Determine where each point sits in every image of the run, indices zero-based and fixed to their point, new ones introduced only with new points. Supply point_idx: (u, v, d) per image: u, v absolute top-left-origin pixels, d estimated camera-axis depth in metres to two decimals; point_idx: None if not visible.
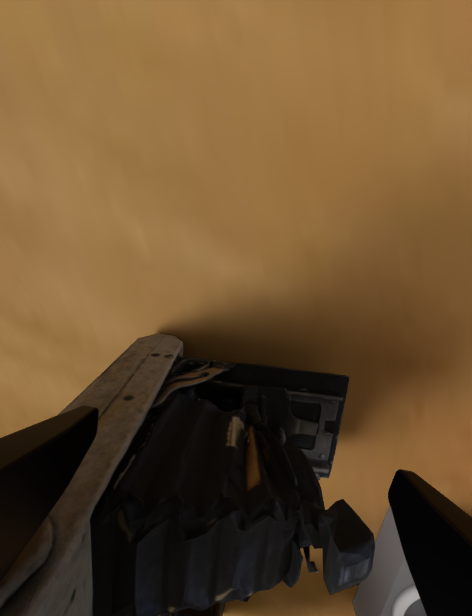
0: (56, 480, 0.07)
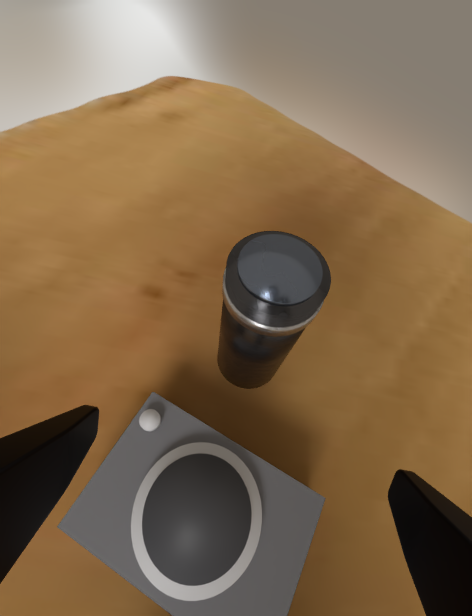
0: (56, 480, 0.07)
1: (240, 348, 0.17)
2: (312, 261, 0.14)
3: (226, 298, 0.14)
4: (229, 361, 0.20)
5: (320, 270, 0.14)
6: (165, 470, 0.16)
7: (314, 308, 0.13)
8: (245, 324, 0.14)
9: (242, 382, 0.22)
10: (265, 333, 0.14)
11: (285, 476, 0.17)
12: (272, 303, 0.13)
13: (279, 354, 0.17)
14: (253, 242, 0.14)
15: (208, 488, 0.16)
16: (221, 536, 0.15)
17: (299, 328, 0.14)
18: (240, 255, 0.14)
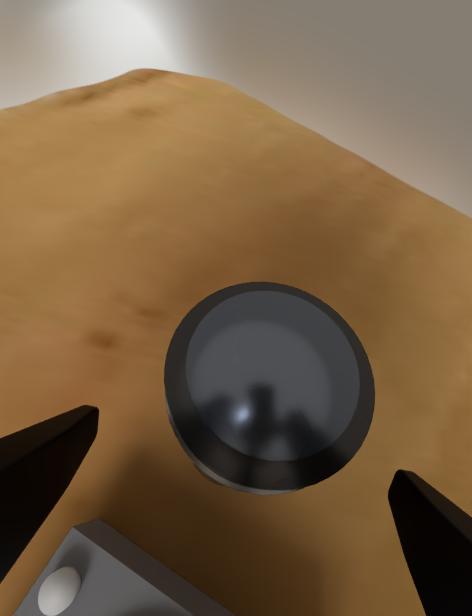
0: (56, 480, 0.07)
1: None
2: (337, 348, 0.07)
3: (170, 419, 0.07)
4: (197, 467, 0.13)
5: (354, 369, 0.07)
6: None
7: (347, 460, 0.06)
8: None
9: None
10: None
11: None
12: (257, 459, 0.06)
13: None
14: (221, 310, 0.07)
15: None
16: None
17: None
18: (193, 341, 0.07)
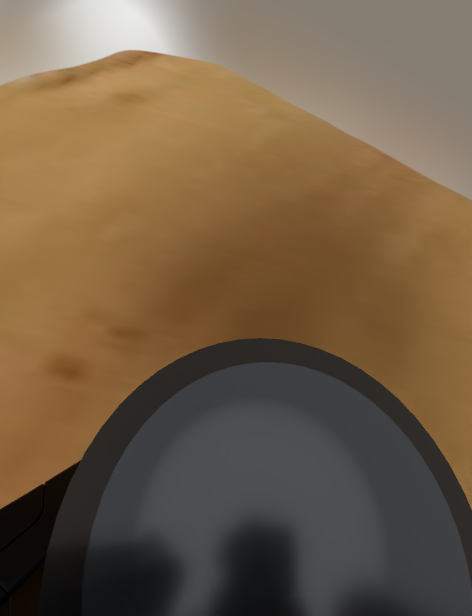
0: None
1: None
2: (413, 496, 0.03)
3: None
4: None
5: (456, 551, 0.03)
6: None
7: None
8: None
9: None
10: None
11: None
12: None
13: None
14: (177, 410, 0.04)
15: None
16: None
17: None
18: (110, 493, 0.03)
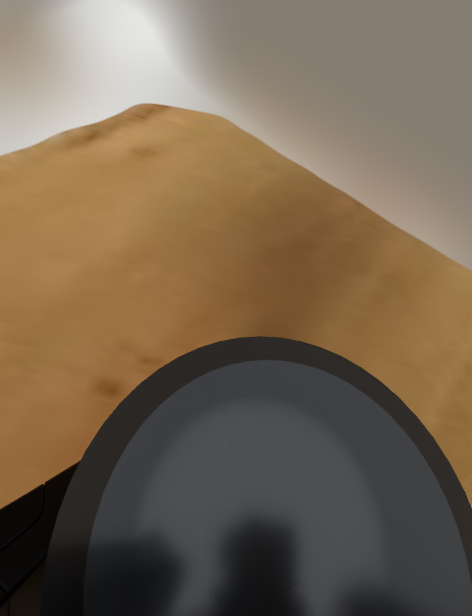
0: None
1: None
2: (413, 493, 0.03)
3: None
4: None
5: (455, 547, 0.03)
6: None
7: None
8: None
9: None
10: None
11: None
12: None
13: None
14: (177, 407, 0.04)
15: None
16: None
17: None
18: (112, 489, 0.03)
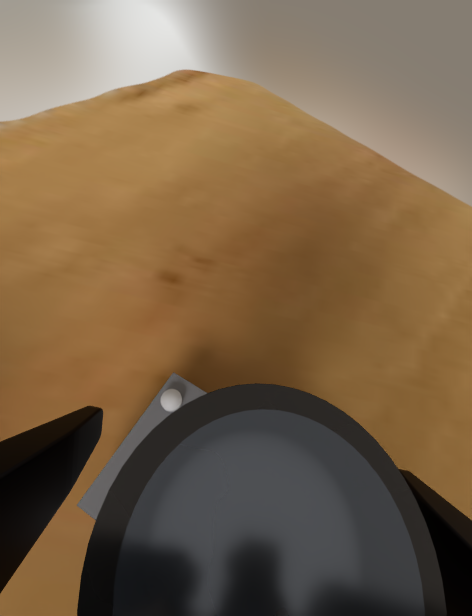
0: (61, 481, 0.07)
1: None
2: (381, 529, 0.04)
3: None
4: None
5: (413, 574, 0.04)
6: None
7: None
8: None
9: None
10: None
11: None
12: None
13: None
14: (185, 455, 0.04)
15: None
16: None
17: None
18: (132, 527, 0.04)
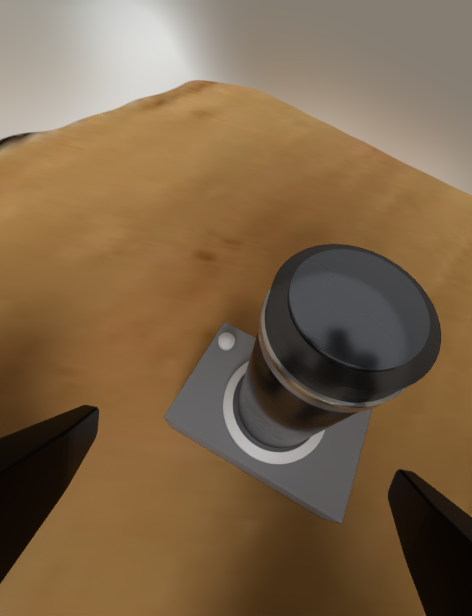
0: (56, 480, 0.07)
1: (284, 417, 0.12)
2: (406, 290, 0.09)
3: (270, 356, 0.09)
4: (260, 423, 0.14)
5: (423, 304, 0.09)
6: None
7: (426, 371, 0.08)
8: (304, 396, 0.09)
9: (276, 444, 0.16)
10: (338, 410, 0.09)
11: None
12: (360, 369, 0.08)
13: None
14: (308, 264, 0.09)
15: None
16: None
17: None
18: (292, 287, 0.09)
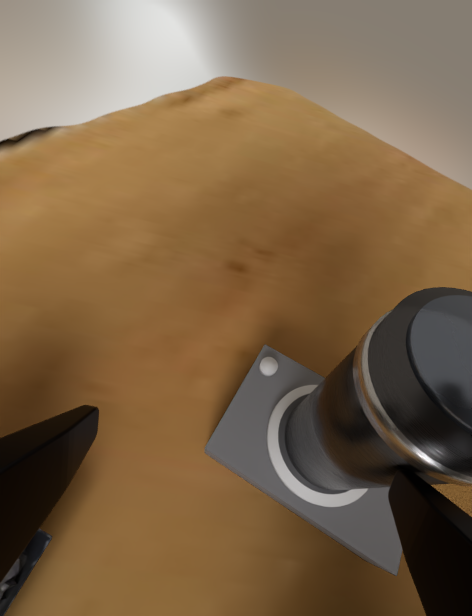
0: (56, 480, 0.07)
1: (368, 473, 0.10)
2: None
3: (381, 416, 0.08)
4: (323, 469, 0.13)
5: None
6: (291, 405, 0.19)
7: None
8: (421, 466, 0.08)
9: (332, 488, 0.15)
10: (462, 484, 0.08)
11: None
12: None
13: None
14: (427, 313, 0.08)
15: None
16: None
17: None
18: (415, 342, 0.07)
